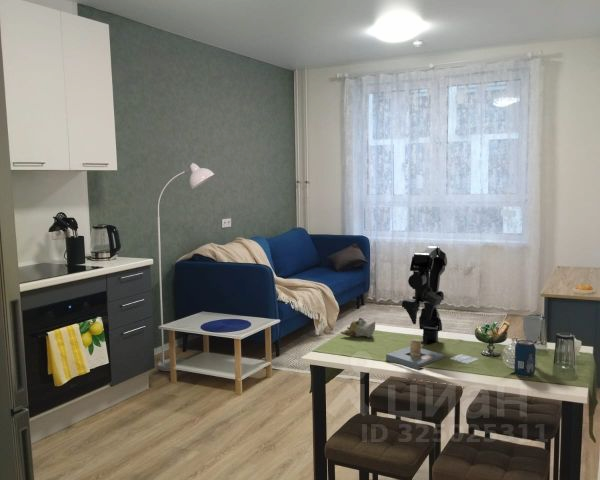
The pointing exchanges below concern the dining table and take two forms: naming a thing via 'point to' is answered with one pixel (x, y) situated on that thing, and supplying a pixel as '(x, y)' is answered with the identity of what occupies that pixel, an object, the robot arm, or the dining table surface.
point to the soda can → (525, 358)
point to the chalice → (532, 328)
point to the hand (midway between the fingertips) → (421, 322)
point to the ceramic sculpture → (360, 328)
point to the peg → (415, 348)
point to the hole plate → (413, 358)
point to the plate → (464, 358)
